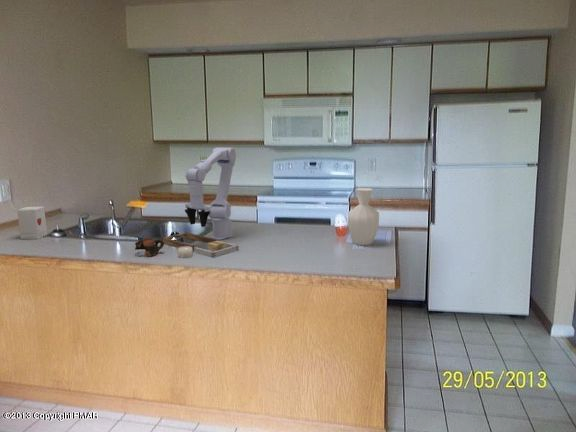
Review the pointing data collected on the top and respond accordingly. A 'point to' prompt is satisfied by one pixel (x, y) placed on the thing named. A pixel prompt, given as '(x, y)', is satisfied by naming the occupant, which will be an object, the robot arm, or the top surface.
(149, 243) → the pottery mug
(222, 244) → the oak block
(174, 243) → the brown u-shaped frame
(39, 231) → the supplement box
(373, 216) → the vase
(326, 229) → the top surface
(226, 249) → the grey corral
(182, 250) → the cream egg-shaped dome
